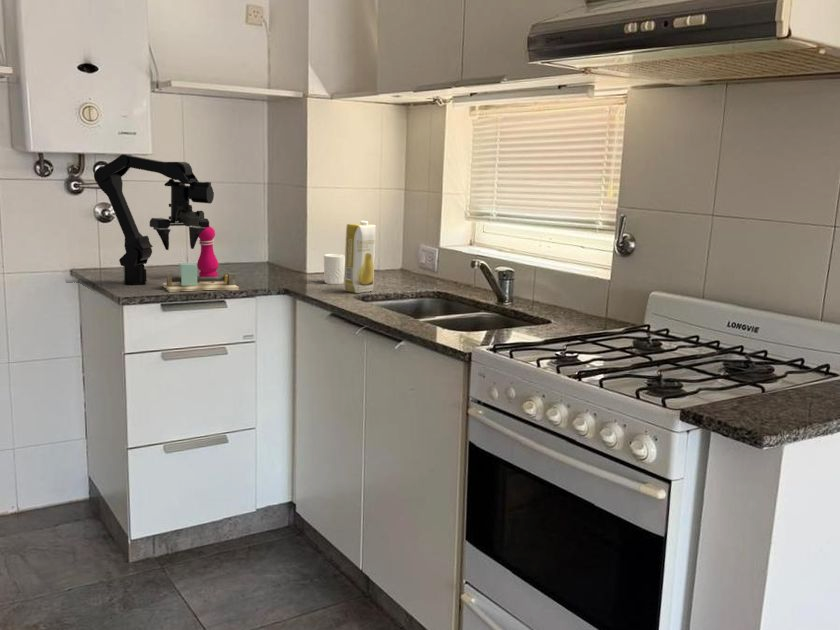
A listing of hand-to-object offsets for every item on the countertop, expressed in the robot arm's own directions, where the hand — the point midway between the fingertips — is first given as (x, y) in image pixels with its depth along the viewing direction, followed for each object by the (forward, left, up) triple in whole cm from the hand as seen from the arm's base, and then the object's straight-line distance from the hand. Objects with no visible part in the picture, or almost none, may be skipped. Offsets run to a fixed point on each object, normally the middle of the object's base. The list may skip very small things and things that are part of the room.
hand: (179, 249), depth 259 cm
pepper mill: (+13, +16, -12) cm, 24 cm away
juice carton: (+56, -19, -13) cm, 60 cm away
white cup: (+54, -1, -13) cm, 55 cm away
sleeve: (+2, -4, -11) cm, 12 cm away
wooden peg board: (+6, -4, -12) cm, 14 cm away
